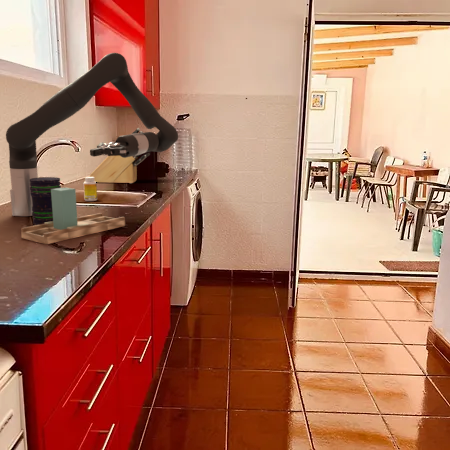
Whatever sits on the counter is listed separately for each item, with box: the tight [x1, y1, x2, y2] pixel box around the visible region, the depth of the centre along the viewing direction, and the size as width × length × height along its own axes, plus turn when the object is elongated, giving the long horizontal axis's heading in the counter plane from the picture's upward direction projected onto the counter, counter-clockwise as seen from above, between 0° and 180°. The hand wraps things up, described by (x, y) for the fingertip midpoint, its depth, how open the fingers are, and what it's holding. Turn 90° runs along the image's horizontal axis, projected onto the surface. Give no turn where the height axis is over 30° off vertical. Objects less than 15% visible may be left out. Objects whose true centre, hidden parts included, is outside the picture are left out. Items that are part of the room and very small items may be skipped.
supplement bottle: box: [82, 176, 98, 202], centre depth 204 cm, size 6×6×10 cm
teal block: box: [51, 187, 78, 230], centre depth 141 cm, size 5×5×12 cm
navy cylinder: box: [30, 176, 62, 225], centre depth 158 cm, size 10×10×15 cm
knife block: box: [88, 127, 151, 184], centre depth 264 cm, size 11×35×31 cm, turn 89°
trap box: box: [20, 212, 126, 245], centre depth 146 cm, size 30×12×3 cm, turn 145°
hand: (91, 153), depth 149 cm, fingers closed
